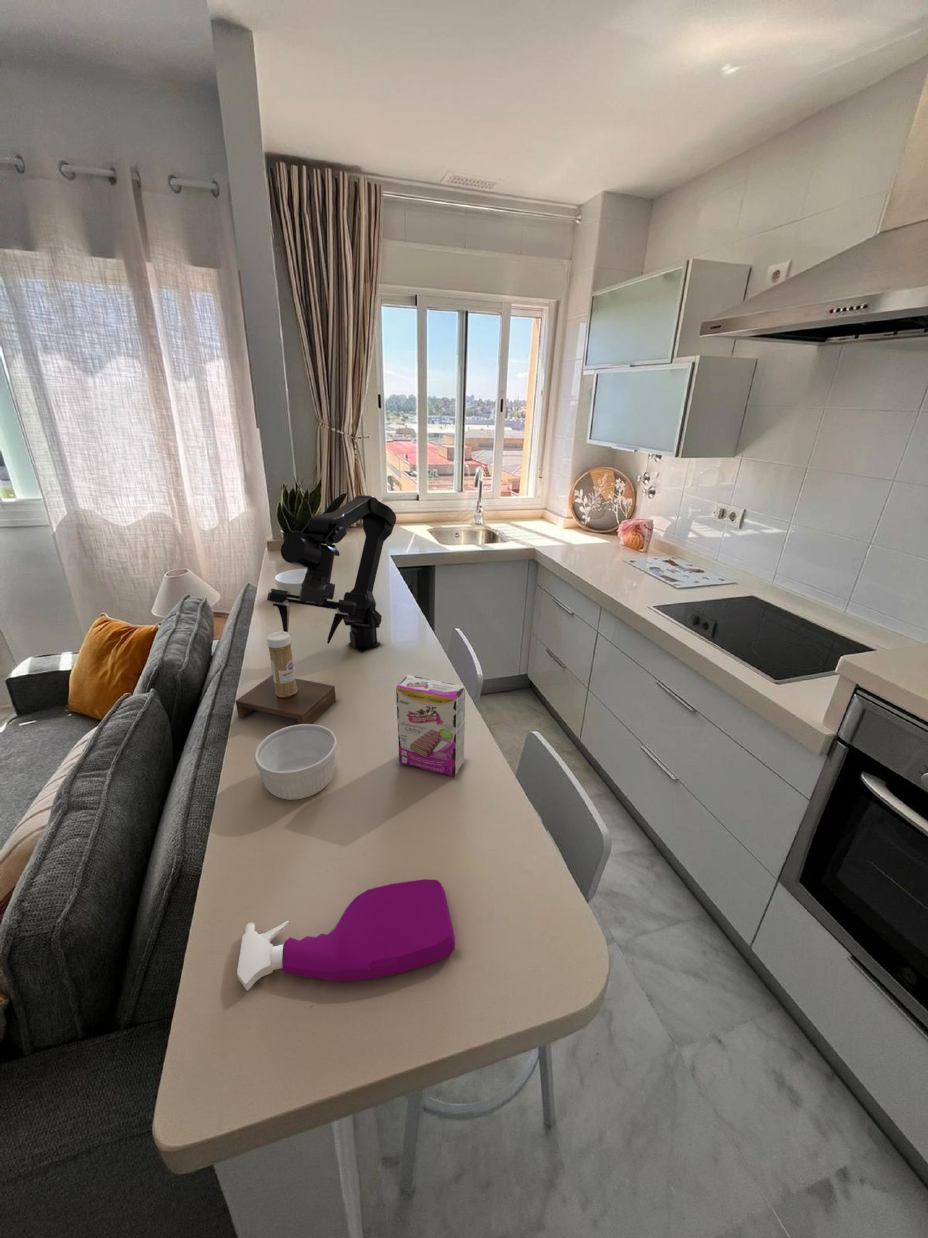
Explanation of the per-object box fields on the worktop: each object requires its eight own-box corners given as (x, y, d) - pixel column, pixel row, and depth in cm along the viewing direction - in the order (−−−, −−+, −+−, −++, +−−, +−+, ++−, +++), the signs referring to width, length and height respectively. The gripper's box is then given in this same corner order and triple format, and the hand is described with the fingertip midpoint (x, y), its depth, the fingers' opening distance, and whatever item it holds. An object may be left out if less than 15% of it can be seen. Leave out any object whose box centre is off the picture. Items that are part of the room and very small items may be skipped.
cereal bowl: (319, 603, 165) (317, 583, 162) (269, 602, 165) (266, 582, 162) (332, 587, 181) (330, 568, 178) (287, 586, 181) (284, 567, 178)
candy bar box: (398, 765, 90) (393, 687, 83) (409, 749, 94) (406, 673, 88) (455, 779, 86) (456, 699, 80) (465, 762, 91) (466, 684, 84)
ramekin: (296, 818, 78) (291, 783, 75) (243, 787, 84) (236, 753, 82) (355, 771, 88) (352, 738, 86) (304, 746, 95) (300, 715, 92)
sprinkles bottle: (292, 698, 103) (284, 640, 98) (271, 697, 103) (262, 639, 98) (301, 687, 107) (293, 630, 102) (280, 686, 107) (272, 629, 102)
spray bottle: (458, 965, 57) (232, 1020, 52) (441, 884, 67) (249, 923, 62) (458, 948, 56) (227, 1002, 51) (440, 868, 66) (245, 907, 61)
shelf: (275, 689, 114) (273, 674, 112) (336, 701, 109) (334, 685, 108) (238, 717, 103) (235, 700, 102) (303, 732, 99) (301, 715, 97)
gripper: (269, 559, 101) (256, 635, 100) (361, 575, 105) (349, 648, 105) (277, 565, 112) (265, 633, 111) (360, 579, 116) (349, 645, 115)
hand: (307, 640), depth 110 cm, fingers open, 9 cm apart
